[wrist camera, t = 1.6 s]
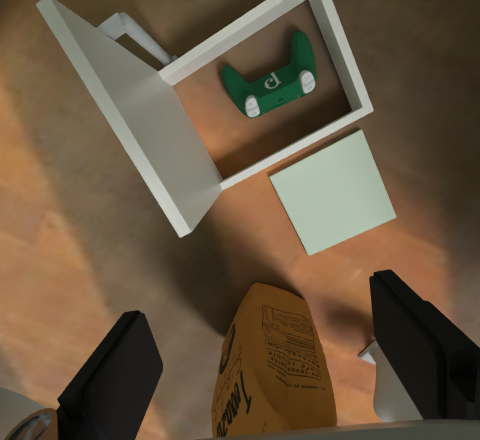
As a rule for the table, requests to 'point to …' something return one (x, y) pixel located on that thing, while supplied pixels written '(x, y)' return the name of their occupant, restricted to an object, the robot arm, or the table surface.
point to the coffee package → (272, 369)
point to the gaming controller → (274, 81)
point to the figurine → (389, 389)
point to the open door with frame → (170, 107)
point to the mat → (334, 193)
